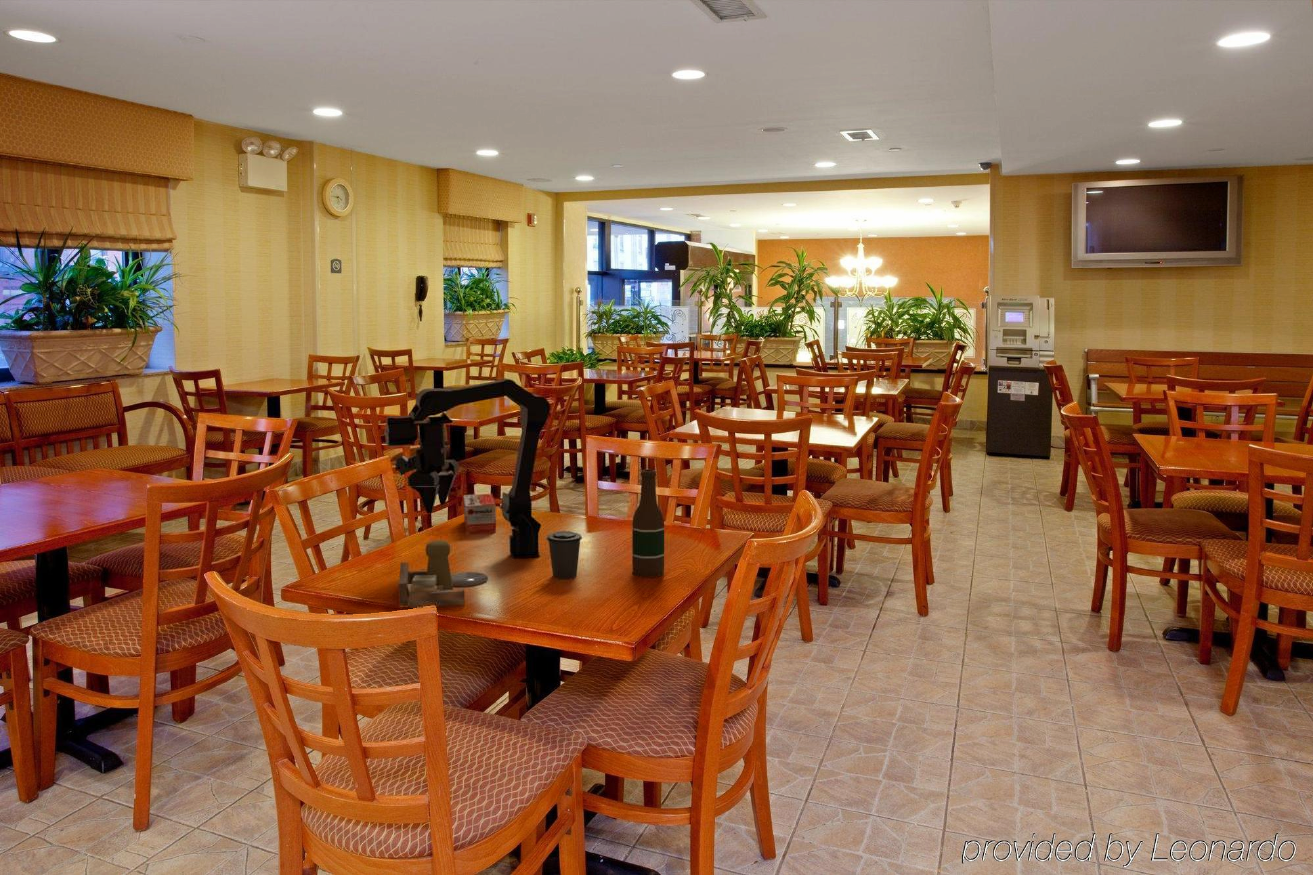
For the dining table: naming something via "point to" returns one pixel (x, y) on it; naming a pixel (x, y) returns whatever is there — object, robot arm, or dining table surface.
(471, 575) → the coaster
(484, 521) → the medicine box
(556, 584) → the dining table surface
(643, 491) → the beer bottle
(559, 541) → the coffee cup
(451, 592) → the rack
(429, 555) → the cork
